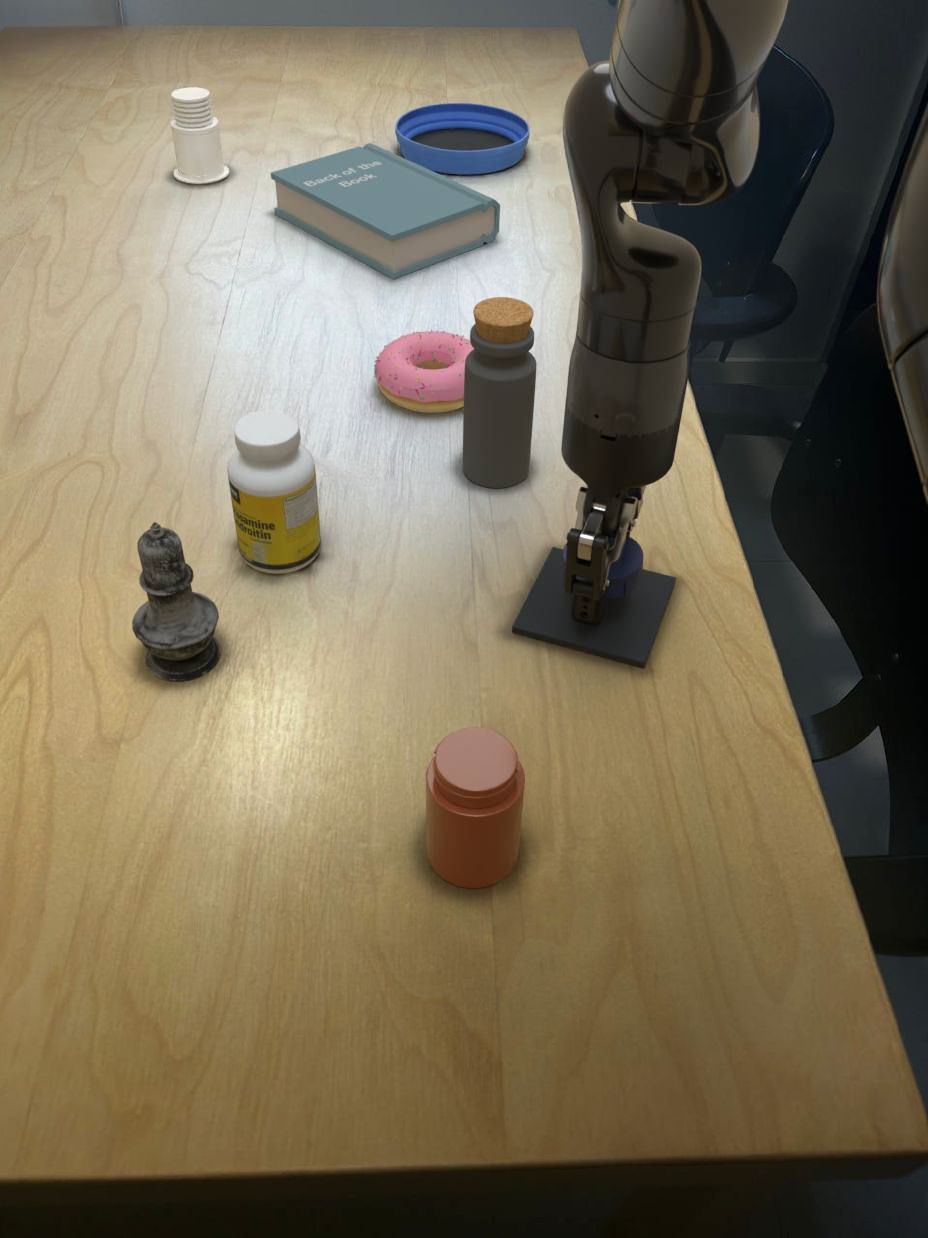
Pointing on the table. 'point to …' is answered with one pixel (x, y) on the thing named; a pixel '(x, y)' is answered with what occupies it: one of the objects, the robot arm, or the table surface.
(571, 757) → the table surface
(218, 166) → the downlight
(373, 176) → the book
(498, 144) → the bowl
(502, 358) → the bottle
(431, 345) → the doughnut
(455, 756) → the jar
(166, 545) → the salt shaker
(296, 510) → the pill bottle
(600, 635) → the coaster
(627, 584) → the jar lid
